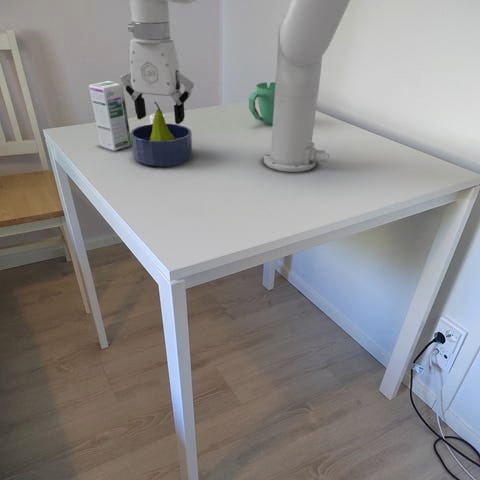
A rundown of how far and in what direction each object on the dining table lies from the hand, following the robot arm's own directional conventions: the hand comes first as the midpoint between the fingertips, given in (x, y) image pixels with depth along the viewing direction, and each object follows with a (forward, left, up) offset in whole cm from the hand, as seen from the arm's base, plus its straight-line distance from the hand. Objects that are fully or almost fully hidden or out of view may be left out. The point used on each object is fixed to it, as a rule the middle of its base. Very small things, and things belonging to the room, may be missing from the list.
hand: (160, 120), depth 99 cm
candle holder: (+10, -18, -9) cm, 22 cm away
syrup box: (+15, -3, -9) cm, 18 cm away
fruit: (0, 0, -8) cm, 8 cm away
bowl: (0, 0, -9) cm, 9 cm away
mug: (-16, -37, -9) cm, 41 cm away
